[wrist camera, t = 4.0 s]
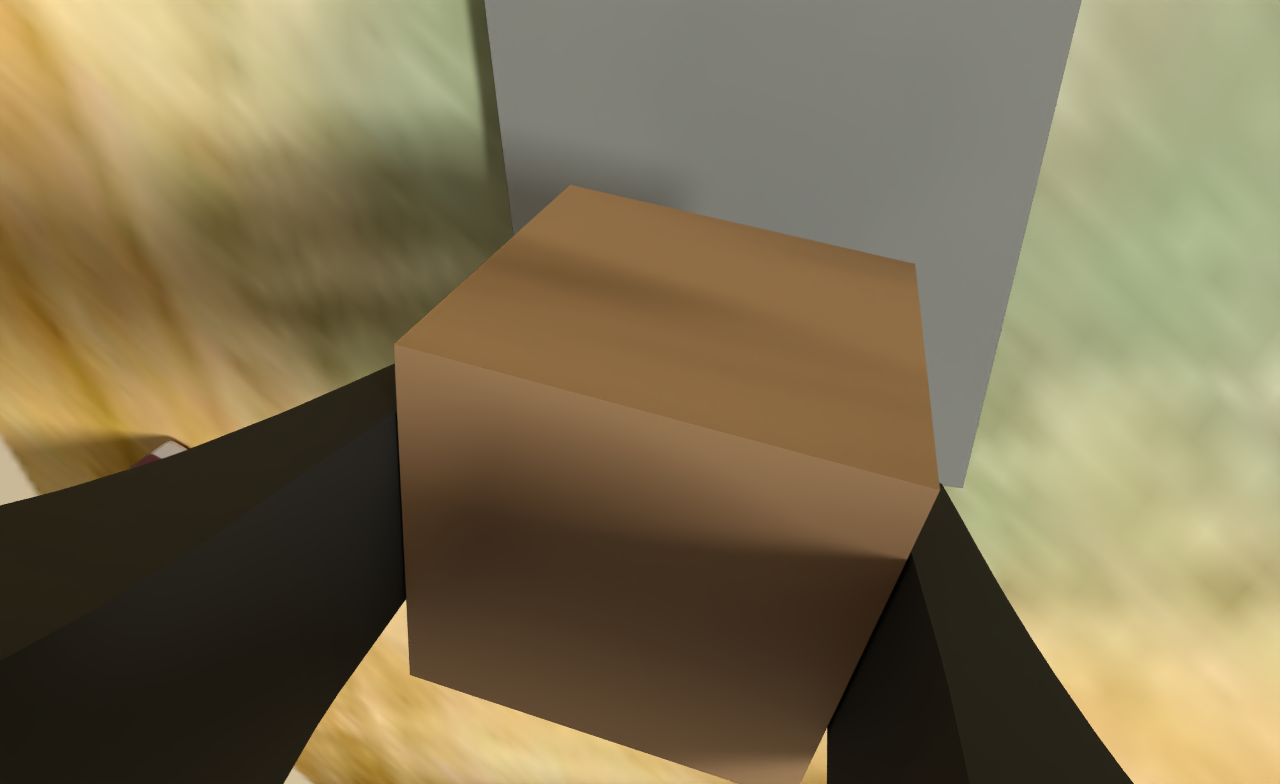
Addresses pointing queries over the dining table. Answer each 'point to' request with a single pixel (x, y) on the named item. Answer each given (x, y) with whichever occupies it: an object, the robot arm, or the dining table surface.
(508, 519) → the walnut cube
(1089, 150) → the dining table surface
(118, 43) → the dining table surface
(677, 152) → the slate coaster
